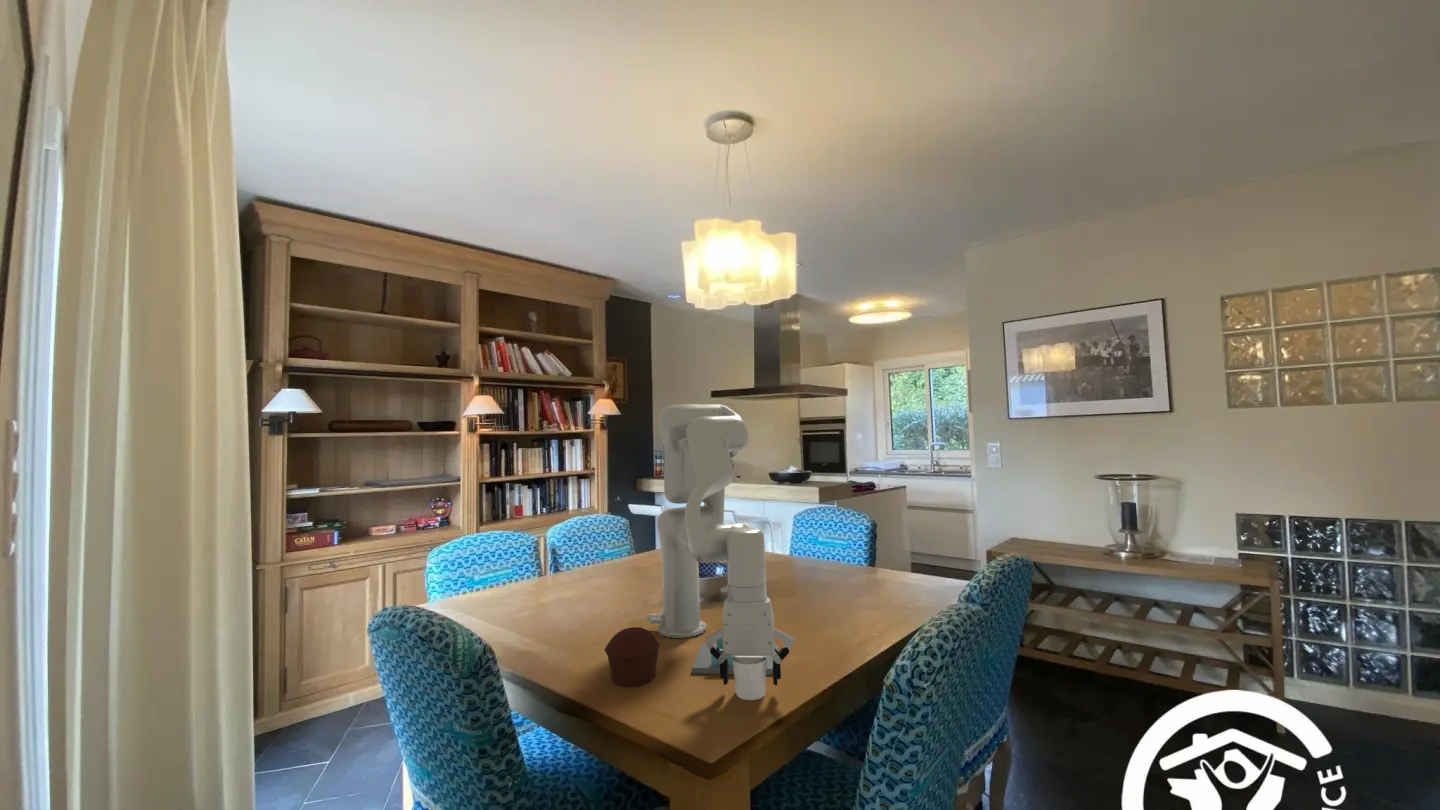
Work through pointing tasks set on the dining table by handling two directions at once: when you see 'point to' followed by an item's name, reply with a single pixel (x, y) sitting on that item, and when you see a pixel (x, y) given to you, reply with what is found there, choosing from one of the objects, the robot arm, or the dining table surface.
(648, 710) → the dining table surface
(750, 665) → the white cylinder
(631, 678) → the muffin
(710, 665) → the clip holder
